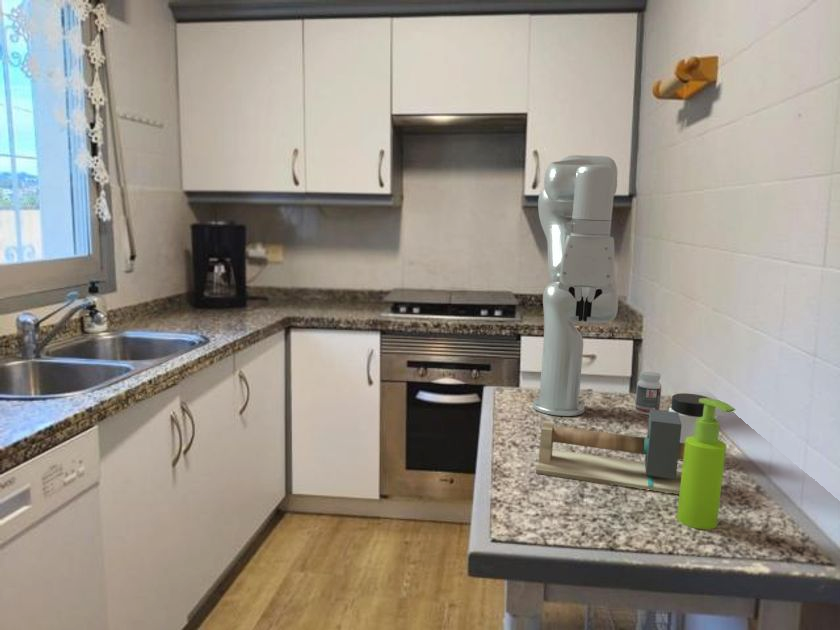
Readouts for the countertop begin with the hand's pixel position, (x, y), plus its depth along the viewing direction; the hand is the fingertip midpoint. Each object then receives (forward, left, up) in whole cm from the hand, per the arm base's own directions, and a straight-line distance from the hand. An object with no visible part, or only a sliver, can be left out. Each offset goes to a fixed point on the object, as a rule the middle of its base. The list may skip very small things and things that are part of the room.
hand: (582, 320), depth 135 cm
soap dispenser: (+29, +22, -27) cm, 45 cm away
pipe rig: (+13, +10, -26) cm, 31 cm away
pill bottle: (-32, +16, -27) cm, 45 cm away
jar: (-3, +23, -27) cm, 35 cm away
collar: (+13, +16, -24) cm, 32 cm away
